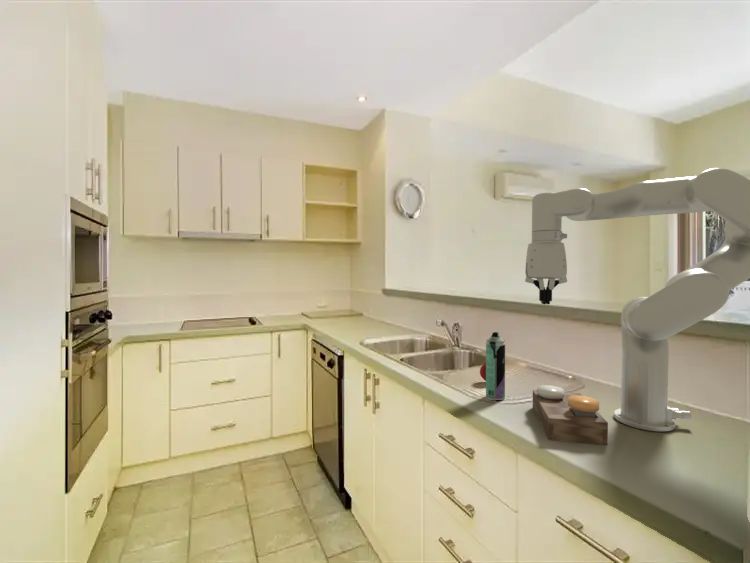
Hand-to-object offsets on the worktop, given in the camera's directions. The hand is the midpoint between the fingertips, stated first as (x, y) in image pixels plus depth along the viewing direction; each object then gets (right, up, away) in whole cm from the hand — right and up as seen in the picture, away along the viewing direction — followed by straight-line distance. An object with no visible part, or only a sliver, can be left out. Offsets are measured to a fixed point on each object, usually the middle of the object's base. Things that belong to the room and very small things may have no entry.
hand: (545, 303), depth 103 cm
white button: (-1, -29, -6) cm, 30 cm away
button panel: (0, -30, -11) cm, 32 cm away
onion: (-9, -29, +23) cm, 38 cm away
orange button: (+1, -28, -17) cm, 33 cm away
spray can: (-12, -29, +8) cm, 32 cm away
